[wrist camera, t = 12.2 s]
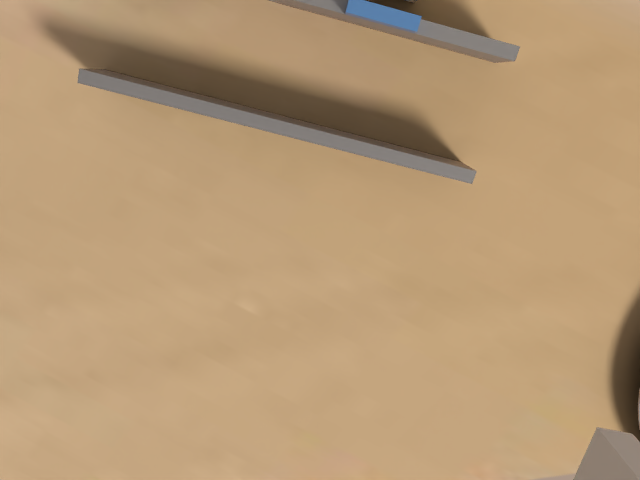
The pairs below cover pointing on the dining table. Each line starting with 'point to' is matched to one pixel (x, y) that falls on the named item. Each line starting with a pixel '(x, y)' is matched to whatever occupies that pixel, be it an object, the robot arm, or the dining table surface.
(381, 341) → the dining table surface
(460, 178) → the grey upright slats
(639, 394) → the ceramic plate
